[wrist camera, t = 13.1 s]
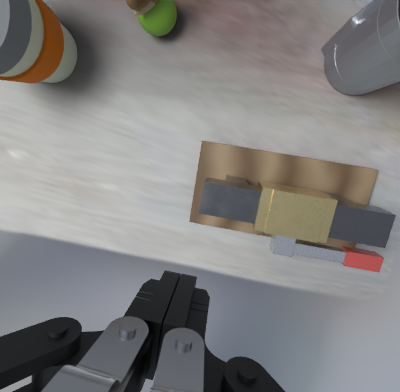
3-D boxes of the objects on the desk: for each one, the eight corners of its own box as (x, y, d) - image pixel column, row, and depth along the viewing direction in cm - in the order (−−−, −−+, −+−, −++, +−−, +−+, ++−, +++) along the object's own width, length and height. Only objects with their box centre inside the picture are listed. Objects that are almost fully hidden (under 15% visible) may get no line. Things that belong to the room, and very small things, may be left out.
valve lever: (272, 253, 34) (380, 273, 33) (277, 233, 33) (386, 253, 32) (269, 245, 36) (370, 264, 35) (273, 227, 35) (376, 245, 35)
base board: (190, 219, 45) (189, 221, 44) (203, 140, 42) (202, 140, 41) (349, 248, 43) (353, 252, 42) (372, 168, 41) (378, 169, 39)
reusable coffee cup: (94, 17, 41) (17, -53, 26) (82, 102, 43) (7, 83, 29) (16, 0, 41) (-101, -78, 27) (10, 85, 44) (-99, 56, 29)
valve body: (205, 200, 43) (197, 220, 32) (210, 168, 42) (204, 177, 31) (347, 226, 41) (388, 256, 30) (356, 193, 40) (403, 212, 29)
